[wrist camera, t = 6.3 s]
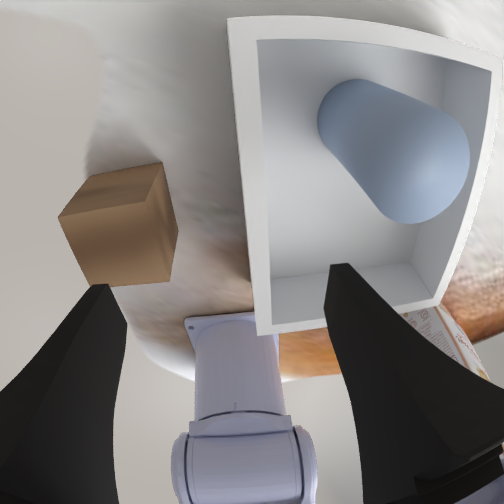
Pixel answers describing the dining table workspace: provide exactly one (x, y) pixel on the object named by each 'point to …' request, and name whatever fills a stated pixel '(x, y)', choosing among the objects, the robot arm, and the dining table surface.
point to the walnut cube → (123, 227)
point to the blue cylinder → (395, 148)
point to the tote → (333, 172)
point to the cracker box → (447, 337)
